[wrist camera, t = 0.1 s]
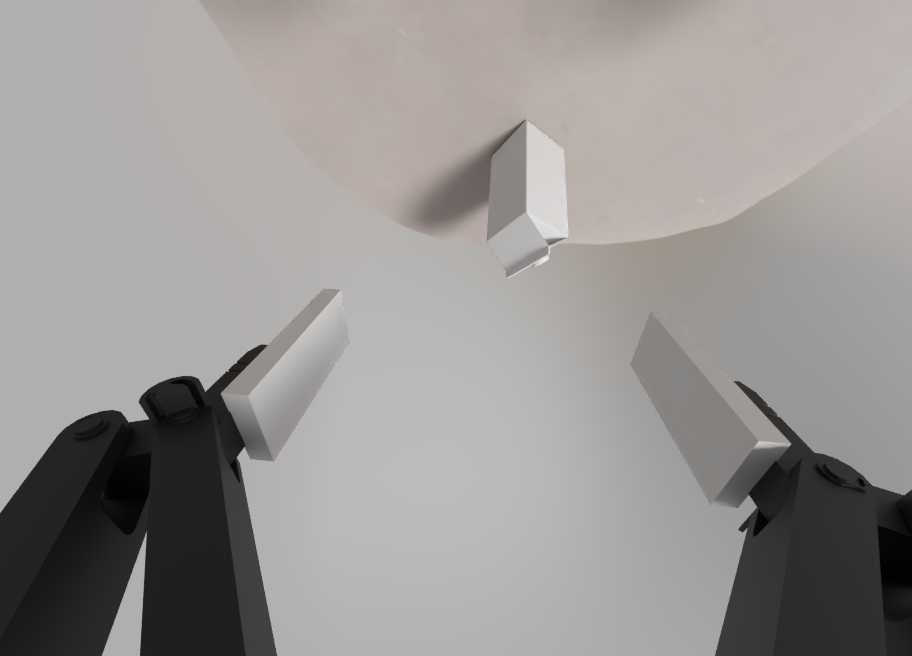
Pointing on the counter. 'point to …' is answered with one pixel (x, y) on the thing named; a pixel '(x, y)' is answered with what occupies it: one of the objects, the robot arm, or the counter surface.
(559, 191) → the milk carton
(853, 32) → the counter surface
